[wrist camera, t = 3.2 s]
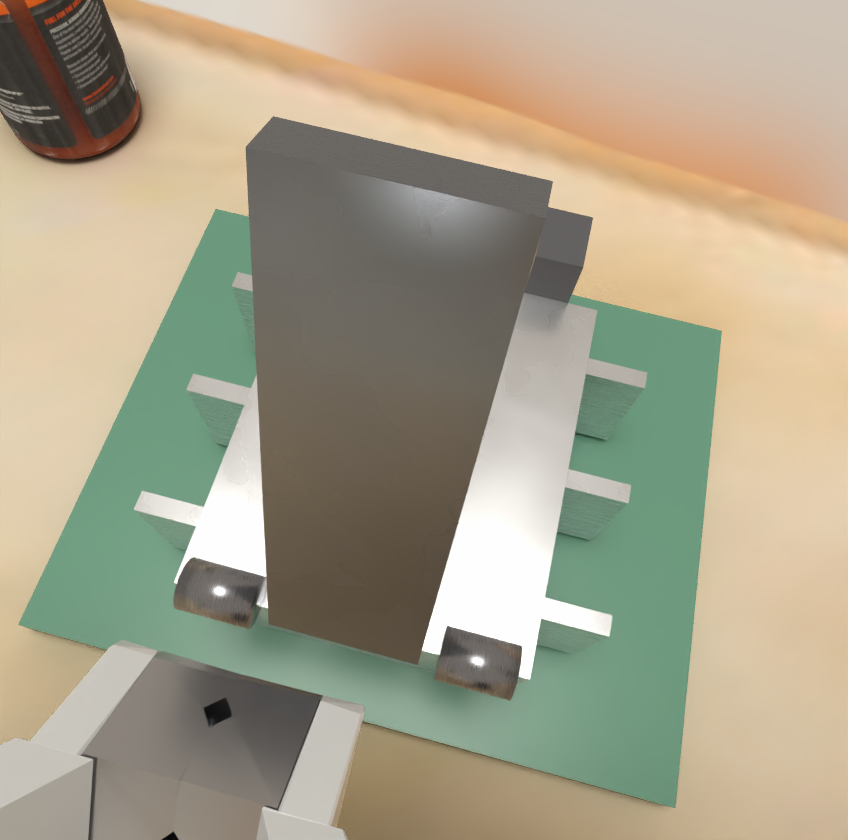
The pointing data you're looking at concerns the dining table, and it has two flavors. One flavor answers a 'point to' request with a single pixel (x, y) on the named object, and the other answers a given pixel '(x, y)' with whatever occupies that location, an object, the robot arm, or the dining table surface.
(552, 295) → the posts
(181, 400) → the circuit board
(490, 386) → the steel strap
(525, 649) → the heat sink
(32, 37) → the supplement bottle
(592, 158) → the dining table surface
